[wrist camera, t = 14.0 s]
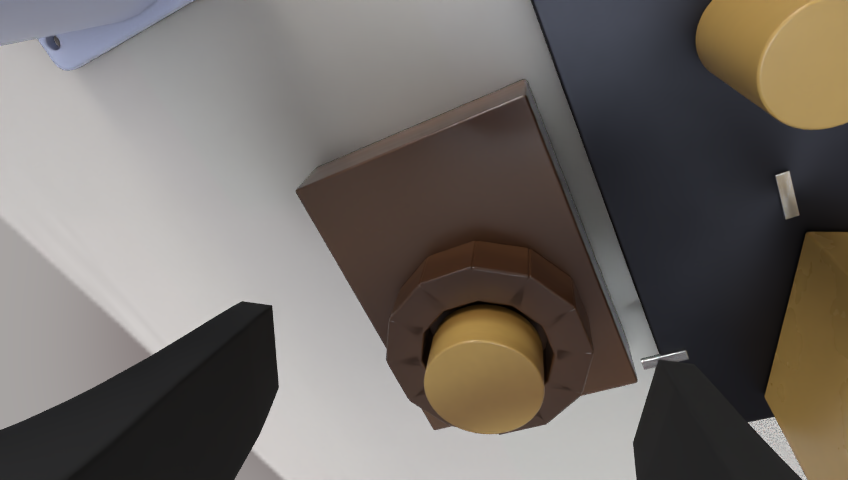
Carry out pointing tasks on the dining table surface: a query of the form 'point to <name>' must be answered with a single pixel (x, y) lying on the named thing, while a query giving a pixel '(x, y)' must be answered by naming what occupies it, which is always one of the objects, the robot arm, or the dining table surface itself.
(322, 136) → the dining table surface
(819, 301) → the tan block
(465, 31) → the dining table surface
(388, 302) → the block
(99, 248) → the dining table surface
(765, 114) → the plate
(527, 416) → the button
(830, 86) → the tap spout
